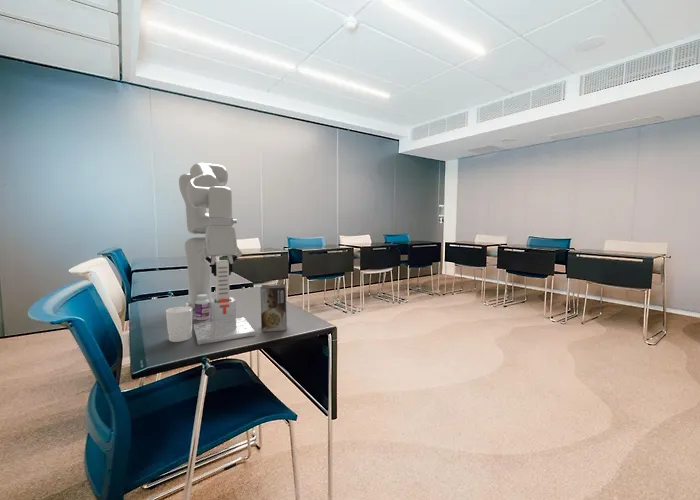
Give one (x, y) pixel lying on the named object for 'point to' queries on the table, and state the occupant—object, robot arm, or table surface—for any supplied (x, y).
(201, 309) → the pill bottle
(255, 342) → the table surface
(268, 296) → the coffee box
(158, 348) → the table surface
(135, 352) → the table surface
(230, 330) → the stand
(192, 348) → the table surface
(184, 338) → the white cup
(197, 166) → the robot arm
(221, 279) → the column
